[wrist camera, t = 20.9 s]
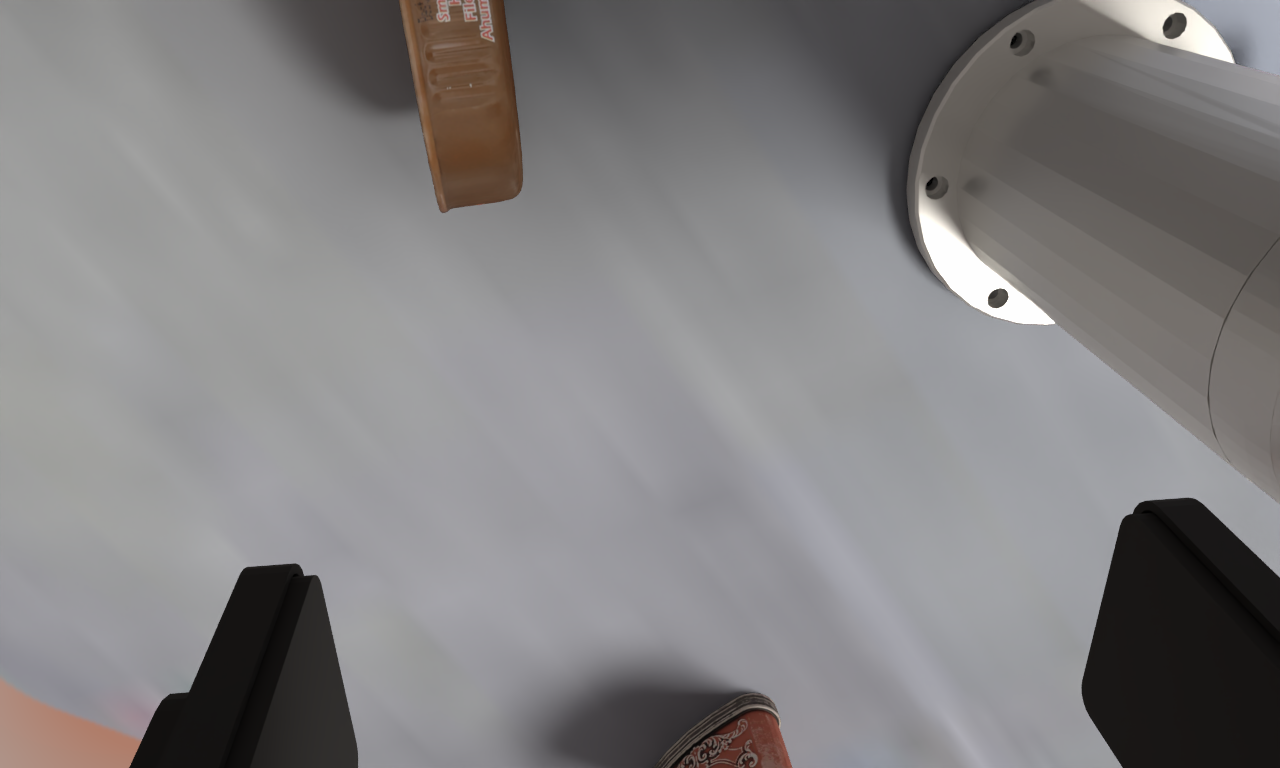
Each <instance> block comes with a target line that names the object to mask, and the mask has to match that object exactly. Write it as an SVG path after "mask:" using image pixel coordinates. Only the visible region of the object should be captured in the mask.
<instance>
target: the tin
mask: <svg viewBox="0 0 1280 768" xmlns="http://www.w3.org/2000/svg"><path fill="white" fill-rule="evenodd" d="M399 5H400V10H401V16H402V22H403V28H404V33H405V38H406V43H407V49H408V54H409V59H410V66H411V72H412V77H413V83H414V88H415V94H416V99H417V105H418V110H419V116H420V122H421V127H422V132H423V136H424V141H425V146H426V151H427V155H428V163H429V166H430V171H431V175H432V180H433V185H434V189H435V195H436V198H437V203H438V206H439V209H440V211H441V212H442V213H445V212H448V211H449V210H450V209H452V208H458V207H465V206H473V205H481V204H487V203H494V202H501V201H505V200H509V199H512V198H514V197H516V196H517V195H518V194H519V193H520V191H521V188H522V182H523V168H522V151H521V142H520V131H519V122H518V114H517V105H516V96H515V87H514V79H513V71H512V63H511V55H510V47H509V40H508V32H507V25H506V17H505V8H504V1H503V0H399Z"/></svg>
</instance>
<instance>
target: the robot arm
mask: <svg viewBox="0 0 1280 768" xmlns="http://www.w3.org/2000/svg"><path fill="white" fill-rule="evenodd" d="M1015 34H1016V36H1017V39H1016V42H1015V43H1014V44H1013V45H1012V46H1010V43H1011V40H1012V37H1013V36H1014V35H1015ZM931 178H933V182H932V184H931V185H930V186H928V187H926V184H927V182H928V181H929V180H930V179H931ZM906 193H907V203H908V213H909V222H910V225H911V228H912V231H913V234H914V237H915V241H916V244H917V247H918V249H919V251H920V253H921V254H922V256H923V258H924V259H925V261H926V263H927V265H928V266H929V268H930V270H931V271H932V272H933V273H934V275H935V276H936V277H937V278H938V279H939V280H940V281H941V282H942V283H943V284H944V285H945V286H946V287H947V288H948V289H949V290H950V291H951V292H952V293H953V294H955V295H956V296H957V297H958V298H960V299H961V300H962V301H963V302H964V303H966V304H967V305H968V306H970V307H972V308H973V309H975V310H977V311H979V312H981V313H983V314H985V315H987V316H989V317H992V318H996V319H1000V320H1004V321H1008V322H1012V323H1016V324H1027V325H1052V324H1057V325H1058V326H1060V327H1061V328H1062V329H1063V330H1065V331H1066V332H1067V333H1068V334H1070V335H1071V336H1072V337H1073V338H1074V339H1076V340H1077V341H1078V342H1079V343H1081V344H1082V345H1083V346H1084V347H1086V348H1087V349H1088V350H1089V351H1090V352H1092V353H1093V354H1094V355H1095V356H1097V357H1098V358H1099V359H1100V360H1101V361H1103V362H1104V363H1105V364H1106V365H1108V366H1109V367H1110V368H1111V369H1113V370H1114V371H1115V372H1116V373H1117V374H1119V375H1120V376H1121V377H1122V378H1124V379H1125V380H1126V381H1127V382H1129V383H1130V384H1131V385H1132V386H1133V387H1135V388H1136V389H1137V390H1138V391H1140V392H1141V393H1142V394H1143V395H1144V396H1146V397H1147V398H1148V399H1149V400H1151V401H1152V402H1153V403H1154V404H1156V405H1157V406H1158V407H1159V408H1160V409H1162V410H1163V411H1164V412H1165V413H1167V414H1168V415H1169V416H1170V417H1172V418H1173V419H1174V420H1175V421H1176V422H1178V423H1179V424H1180V425H1181V426H1183V427H1184V428H1185V429H1186V430H1188V431H1189V432H1190V433H1191V434H1192V435H1194V436H1195V437H1196V438H1197V439H1199V440H1200V441H1201V442H1202V443H1203V444H1205V445H1206V446H1207V447H1208V448H1210V449H1211V450H1212V451H1213V452H1215V453H1216V454H1217V455H1218V456H1219V457H1221V458H1222V459H1223V460H1224V461H1226V462H1227V463H1228V464H1229V465H1231V466H1232V467H1233V468H1234V469H1235V470H1237V471H1238V472H1239V473H1240V474H1242V475H1243V476H1244V477H1245V478H1247V479H1248V480H1249V481H1251V482H1252V483H1253V484H1255V485H1256V486H1257V487H1258V488H1260V489H1261V490H1262V491H1263V492H1265V493H1266V494H1267V495H1269V496H1270V497H1271V498H1272V499H1274V500H1275V501H1276V502H1277V503H1279V504H1280V76H1279V75H1276V74H1272V73H1268V72H1264V71H1261V70H1257V69H1253V68H1249V67H1246V66H1242V65H1238V64H1236V63H1235V60H1234V58H1233V55H1232V52H1231V50H1230V48H1229V47H1228V45H1227V44H1226V42H1225V41H1224V39H1223V38H1222V36H1221V35H1220V33H1219V32H1218V30H1217V29H1216V27H1215V26H1214V25H1213V24H1212V23H1211V22H1210V21H1208V20H1207V19H1206V18H1205V17H1204V16H1203V15H1202V14H1201V13H1200V12H1198V11H1197V10H1196V9H1195V8H1194V7H1192V6H1190V5H1189V4H1187V3H1185V2H1183V1H1181V0H1035V1H1033V2H1031V3H1029V4H1028V5H1026V6H1024V7H1022V8H1020V9H1018V10H1016V11H1014V12H1012V13H1011V14H1009V15H1008V16H1006V17H1005V18H1004V19H1002V20H1001V21H1000V22H998V23H997V24H996V25H995V26H993V27H992V28H991V29H989V30H988V31H987V32H985V33H984V34H983V35H981V36H980V37H979V38H978V39H977V40H976V41H975V42H974V43H973V44H972V46H971V47H970V48H969V49H968V50H967V51H966V52H965V53H964V54H963V55H962V56H961V57H960V58H959V59H958V60H957V62H956V63H955V64H954V65H953V66H952V68H951V69H950V71H949V72H948V74H947V75H946V77H945V78H944V80H943V81H942V83H941V84H940V86H939V87H938V88H937V90H936V91H935V93H934V94H933V96H932V99H931V101H930V103H929V105H928V107H927V109H926V111H925V114H924V116H923V118H922V120H921V122H920V124H919V126H918V130H917V133H916V137H915V141H914V144H913V148H912V151H911V155H910V159H909V168H908V179H907V190H906ZM1082 697H1083V702H1084V705H1085V708H1086V710H1087V712H1088V714H1089V716H1090V718H1091V719H1092V721H1093V722H1094V724H1095V726H1096V727H1097V729H1098V730H1099V732H1100V733H1101V735H1102V736H1103V738H1104V739H1105V741H1106V742H1107V744H1108V746H1109V747H1110V749H1111V750H1112V752H1113V753H1114V755H1115V756H1116V758H1117V759H1118V761H1119V763H1120V764H1121V766H1122V767H1123V768H1280V577H1279V576H1277V575H1276V574H1275V573H1274V572H1273V571H1272V570H1271V569H1270V568H1269V567H1268V566H1267V565H1266V564H1265V563H1264V562H1263V561H1262V560H1261V559H1260V558H1259V557H1258V556H1257V555H1256V554H1254V553H1253V552H1252V551H1251V550H1250V549H1249V548H1248V547H1247V546H1246V545H1245V544H1244V543H1243V542H1242V541H1241V540H1240V539H1239V538H1238V537H1237V536H1236V535H1235V534H1234V533H1233V532H1231V531H1230V530H1229V529H1228V528H1227V527H1226V526H1225V525H1224V524H1223V523H1222V522H1221V521H1220V520H1219V519H1218V518H1217V517H1216V516H1215V515H1214V514H1213V513H1212V512H1211V511H1210V510H1208V509H1207V508H1206V507H1205V506H1204V505H1203V504H1202V503H1201V502H1199V501H1198V500H1196V499H1193V498H1178V499H1165V500H1151V501H1144V502H1141V503H1139V504H1138V505H1137V507H1136V508H1135V509H1134V512H1133V514H1130V515H1127V516H1125V518H1124V519H1123V520H1122V522H1121V525H1120V528H1119V533H1118V537H1117V541H1116V545H1115V549H1114V553H1113V557H1112V561H1111V565H1110V569H1109V574H1108V578H1107V582H1106V586H1105V590H1104V594H1103V598H1102V602H1101V606H1100V610H1099V615H1098V619H1097V623H1096V627H1095V631H1094V635H1093V639H1092V643H1091V647H1090V651H1089V656H1088V660H1087V664H1086V668H1085V672H1084V676H1083V680H1082ZM129 768H358V750H357V743H356V739H355V734H354V730H353V725H352V721H351V716H350V712H349V707H348V703H347V698H346V694H345V689H344V685H343V680H342V676H341V671H340V667H339V662H338V658H337V653H336V648H335V644H334V639H333V635H332V630H331V626H330V621H329V617H328V612H327V608H326V603H325V599H324V594H323V590H322V585H321V582H320V579H319V578H318V576H316V575H311V576H304V574H303V571H302V569H301V567H300V566H299V565H298V564H283V565H269V566H256V567H247V568H245V569H243V571H242V572H241V574H240V575H239V578H238V580H237V582H236V585H235V587H234V589H233V592H232V594H231V596H230V599H229V601H228V603H227V606H226V608H225V610H224V613H223V615H222V617H221V620H220V622H219V624H218V627H217V629H216V631H215V633H214V636H213V638H212V640H211V643H210V645H209V647H208V650H207V652H206V654H205V657H204V659H203V661H202V664H201V666H200V668H199V671H198V673H197V675H196V678H195V680H194V682H193V685H192V687H191V689H190V691H189V692H188V693H176V694H169V695H168V696H167V697H166V698H164V699H163V700H162V701H161V703H160V705H159V706H158V708H157V710H156V711H155V713H154V715H153V718H152V720H151V722H150V724H149V726H148V728H147V731H146V733H145V735H144V737H143V739H142V741H141V744H140V746H139V748H138V750H137V752H136V755H135V757H134V759H133V761H132V763H131V765H130V767H129Z"/></svg>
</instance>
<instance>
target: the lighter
mask: <svg viewBox="0 0 1280 768" xmlns="http://www.w3.org/2000/svg"><path fill="white" fill-rule="evenodd" d="M780 725H781V720H780V717H779V714H778V711H777V708H776V706H775V704H774V702H773V701H772V700H771V699H770V698H769V697H767V696H765V695H762V694H757V693H749V694H744V695H741V696H739V697H737V698H735V699H734V700H732V701H731V702H729V703H727V704H726V705H724V706H722V707H721V708H719V709H718V710H716V711H714V712H713V713H711V714H710V715H709V716H707V717H706V718H705V719H703V720H702V721H701V722H699V723H698V724H697V725H695V726H694V727H693V728H692V729H690V730H689V731H688V732H687V733H686V734H685V735H683V736H682V737H681V738H680V739H679V740H678V741H677V742H676V743H675V744H674V745H673V746H672V747H671V748H670V749H669V750H668V751H667V752H666V753H665V755H664V756H663V757H662V758H661V759H660V761H659V762H658V763H657V764H656V765H655V767H654V768H792V765H791V762H790V759H789V756H788V753H787V750H786V747H785V744H784V741H783V738H782V735H781V732H780Z"/></svg>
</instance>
